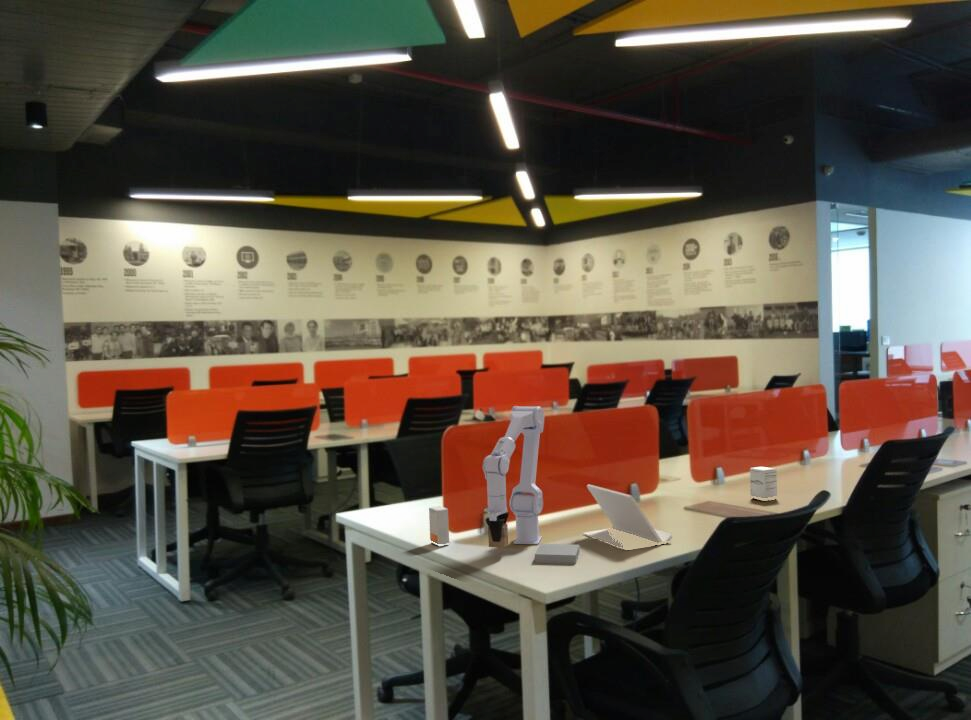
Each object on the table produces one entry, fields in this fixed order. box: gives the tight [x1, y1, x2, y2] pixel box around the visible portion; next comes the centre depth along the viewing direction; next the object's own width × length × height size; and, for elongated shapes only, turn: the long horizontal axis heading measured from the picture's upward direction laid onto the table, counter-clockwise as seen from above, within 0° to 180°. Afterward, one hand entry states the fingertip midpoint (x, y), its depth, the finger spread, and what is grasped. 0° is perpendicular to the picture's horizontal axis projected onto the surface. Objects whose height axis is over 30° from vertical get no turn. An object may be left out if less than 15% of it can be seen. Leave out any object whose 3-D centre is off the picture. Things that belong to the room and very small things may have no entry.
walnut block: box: [487, 523, 509, 548], centre depth 232 cm, size 5×5×6 cm
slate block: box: [534, 543, 581, 565], centre depth 229 cm, size 12×12×3 cm
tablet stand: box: [582, 483, 673, 548], centre depth 248 cm, size 18×25×17 cm
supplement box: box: [749, 466, 778, 498], centre depth 301 cm, size 7×7×13 cm
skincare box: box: [428, 505, 450, 544], centre depth 249 cm, size 6×4×12 cm
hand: (498, 539), depth 232 cm, fingers closed on walnut block, 5 cm apart
